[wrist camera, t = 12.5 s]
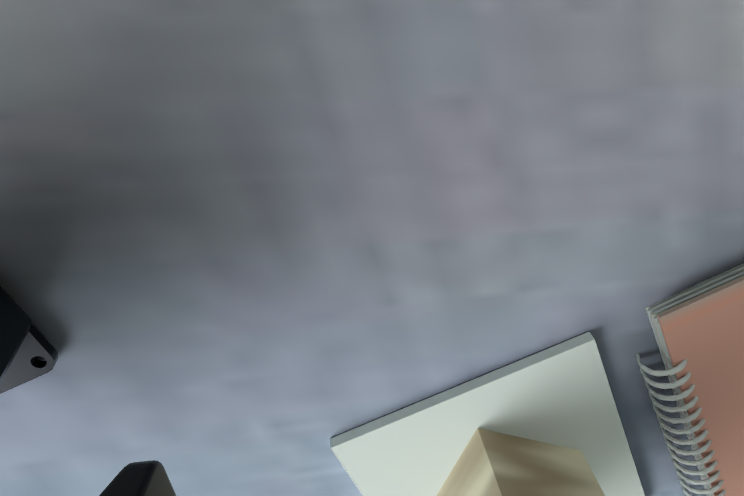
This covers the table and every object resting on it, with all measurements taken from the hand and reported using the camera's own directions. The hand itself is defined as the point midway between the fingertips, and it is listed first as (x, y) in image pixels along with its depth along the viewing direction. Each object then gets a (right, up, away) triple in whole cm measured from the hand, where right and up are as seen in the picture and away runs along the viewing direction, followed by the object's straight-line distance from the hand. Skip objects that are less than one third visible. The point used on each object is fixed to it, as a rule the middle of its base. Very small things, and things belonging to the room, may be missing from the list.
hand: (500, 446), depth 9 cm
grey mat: (+4, -7, +20) cm, 21 cm away
